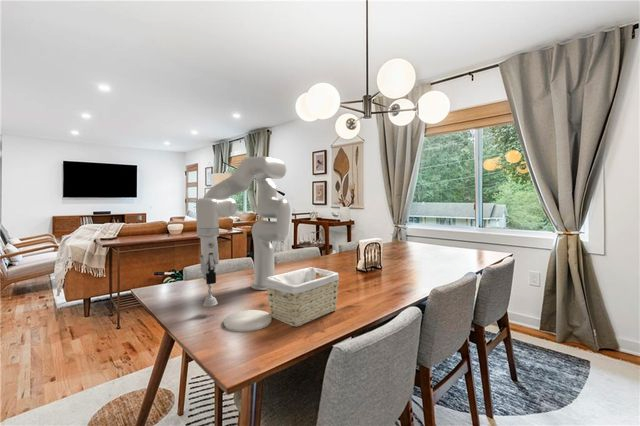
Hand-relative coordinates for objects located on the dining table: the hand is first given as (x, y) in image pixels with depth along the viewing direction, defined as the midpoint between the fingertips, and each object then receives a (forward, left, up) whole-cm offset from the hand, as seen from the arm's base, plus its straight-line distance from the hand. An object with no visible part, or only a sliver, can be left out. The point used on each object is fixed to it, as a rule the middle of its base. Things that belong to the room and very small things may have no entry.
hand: (209, 280), depth 113 cm
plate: (-10, +13, -12) cm, 21 cm away
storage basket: (-31, +15, -13) cm, 37 cm away
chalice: (0, 0, -9) cm, 9 cm away
